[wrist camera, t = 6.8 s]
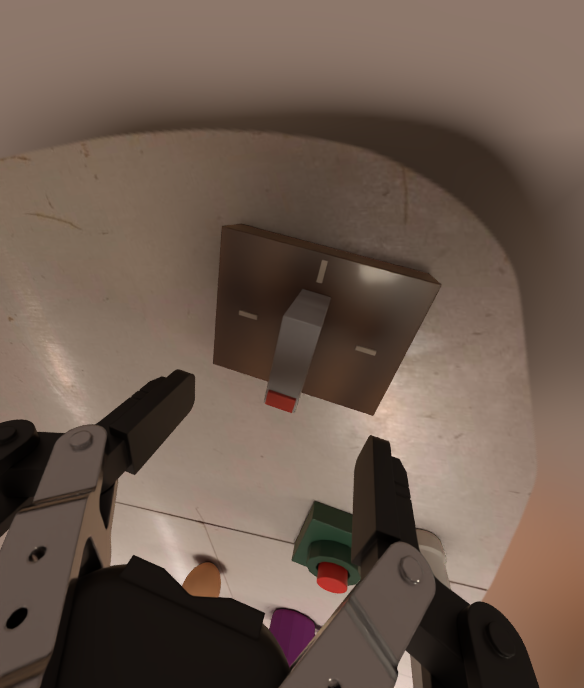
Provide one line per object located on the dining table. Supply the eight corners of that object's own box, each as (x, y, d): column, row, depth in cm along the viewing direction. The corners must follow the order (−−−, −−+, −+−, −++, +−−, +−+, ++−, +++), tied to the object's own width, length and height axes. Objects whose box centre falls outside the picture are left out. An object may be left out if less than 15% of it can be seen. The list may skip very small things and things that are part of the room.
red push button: (322, 556, 31) (321, 574, 29) (351, 567, 31) (351, 586, 29) (315, 568, 33) (313, 585, 31) (342, 578, 32) (341, 596, 31)
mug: (272, 602, 51) (242, 736, 38) (351, 628, 47) (349, 784, 35) (273, 620, 55) (247, 746, 42) (347, 644, 52) (343, 789, 39)
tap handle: (302, 288, 17) (281, 317, 12) (331, 297, 17) (321, 329, 12) (284, 361, 20) (262, 405, 15) (308, 369, 20) (293, 416, 15)
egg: (192, 550, 48) (160, 615, 40) (224, 559, 47) (197, 628, 39) (200, 568, 51) (172, 631, 44) (231, 577, 50) (207, 644, 42)
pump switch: (314, 500, 32) (309, 535, 29) (385, 526, 31) (388, 565, 28) (294, 543, 38) (288, 576, 35) (353, 566, 37) (352, 602, 34)
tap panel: (430, 273, 17) (443, 285, 15) (371, 393, 23) (373, 417, 20) (240, 223, 19) (220, 225, 16) (228, 347, 24) (211, 364, 22)
